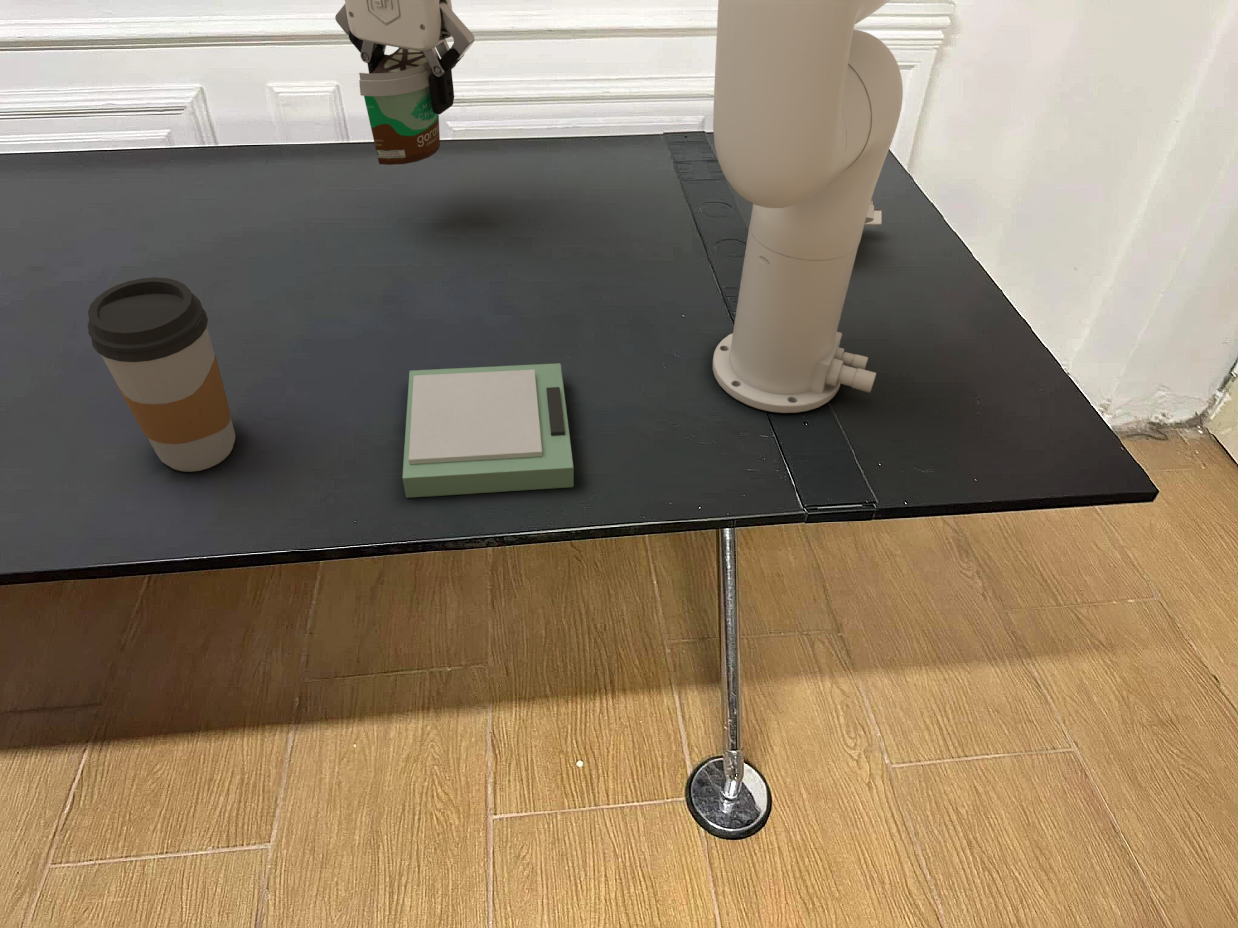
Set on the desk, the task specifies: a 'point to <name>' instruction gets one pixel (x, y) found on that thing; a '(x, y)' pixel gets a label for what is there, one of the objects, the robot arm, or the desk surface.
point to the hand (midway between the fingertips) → (414, 102)
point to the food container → (401, 108)
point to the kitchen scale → (486, 431)
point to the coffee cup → (165, 369)
